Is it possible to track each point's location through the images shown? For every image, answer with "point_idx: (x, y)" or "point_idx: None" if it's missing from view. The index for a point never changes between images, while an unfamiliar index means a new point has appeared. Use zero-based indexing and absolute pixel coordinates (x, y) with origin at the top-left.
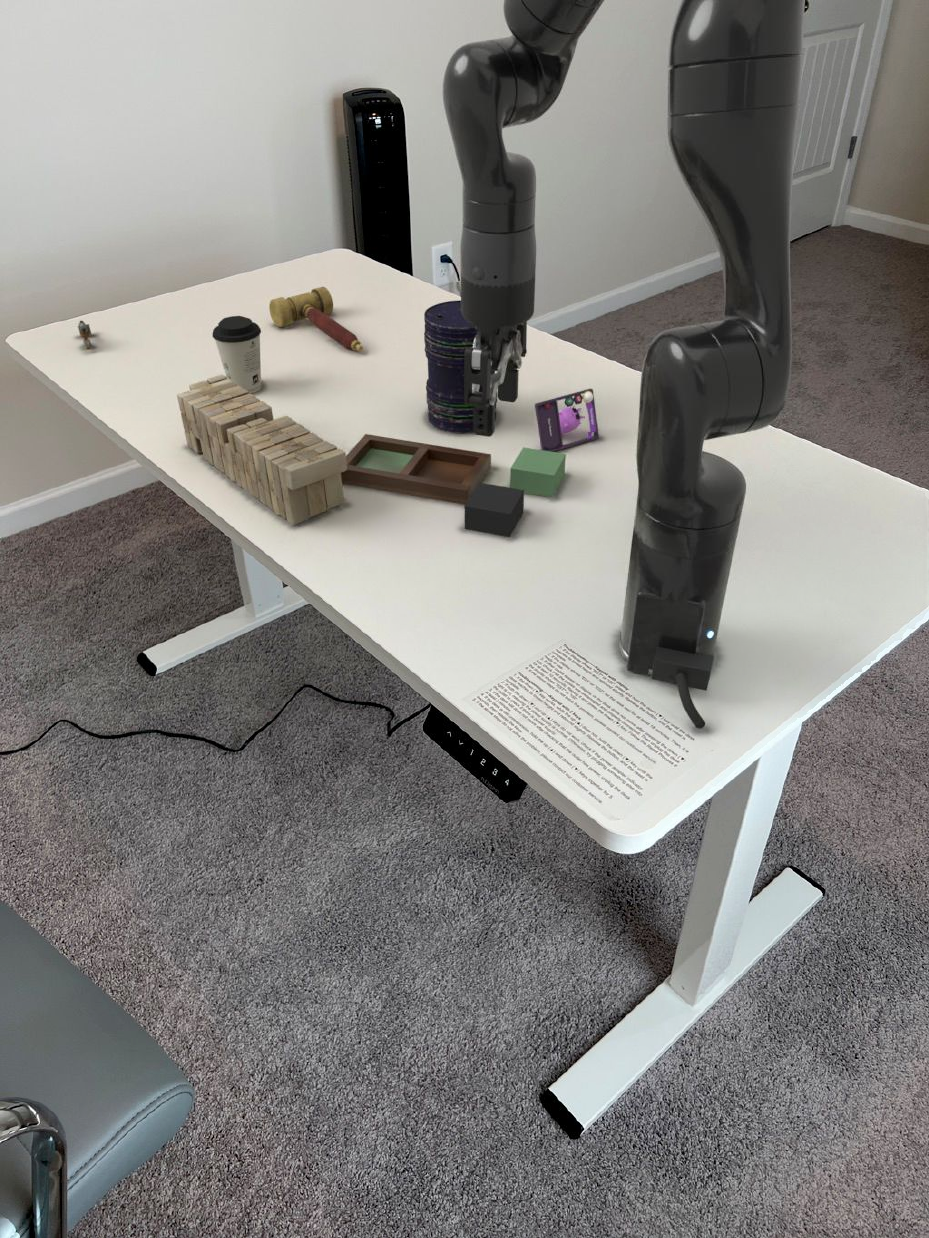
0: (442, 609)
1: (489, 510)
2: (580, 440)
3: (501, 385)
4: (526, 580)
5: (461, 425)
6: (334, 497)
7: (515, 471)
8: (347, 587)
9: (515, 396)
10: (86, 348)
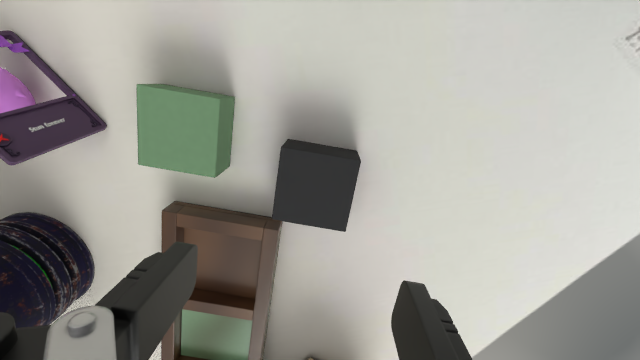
0: (530, 214)
1: (353, 194)
2: (38, 65)
3: (171, 314)
4: (465, 113)
5: (78, 260)
6: None
7: (217, 167)
8: (481, 320)
9: (189, 253)
10: None
